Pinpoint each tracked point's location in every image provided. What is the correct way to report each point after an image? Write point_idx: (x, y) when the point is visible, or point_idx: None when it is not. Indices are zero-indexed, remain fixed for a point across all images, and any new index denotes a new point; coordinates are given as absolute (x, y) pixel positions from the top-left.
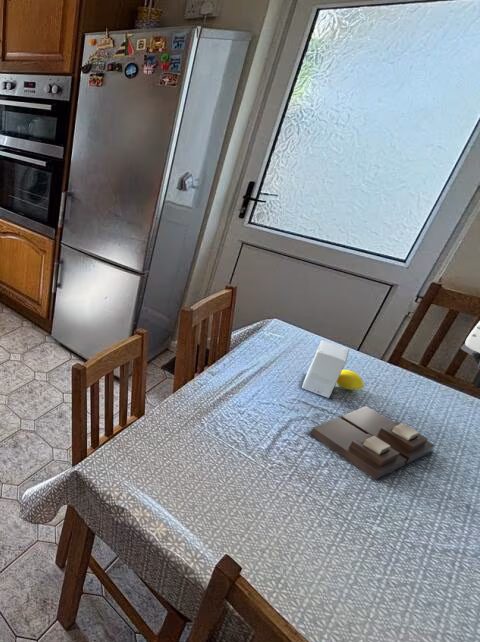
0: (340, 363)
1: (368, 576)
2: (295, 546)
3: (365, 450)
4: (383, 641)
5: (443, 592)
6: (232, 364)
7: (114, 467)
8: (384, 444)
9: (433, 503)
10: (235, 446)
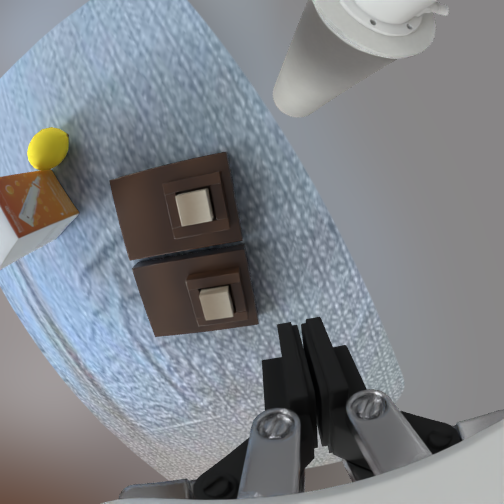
0: (22, 240)
1: None
2: None
3: (221, 322)
4: None
5: (380, 371)
6: (15, 302)
7: None
8: (222, 299)
9: (313, 273)
10: (178, 422)
